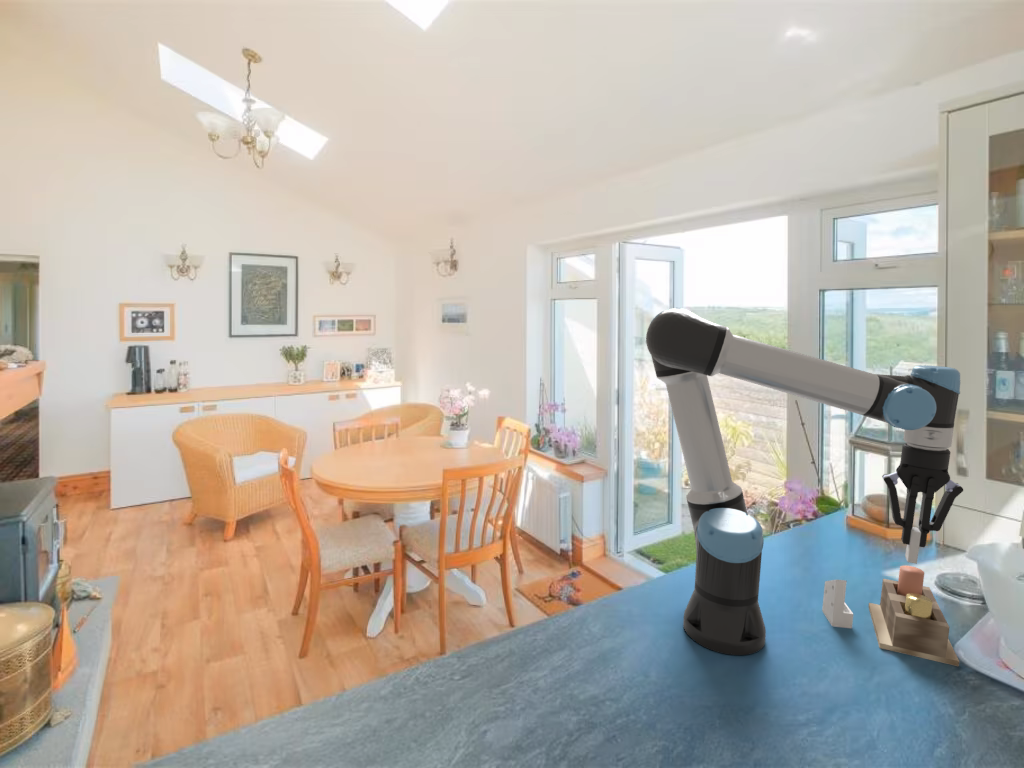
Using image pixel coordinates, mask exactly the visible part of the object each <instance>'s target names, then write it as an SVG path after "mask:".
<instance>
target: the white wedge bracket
mask: <svg viewBox="0 0 1024 768" xmlns="http://www.w3.org/2000/svg"><path fill="white" fill-rule="evenodd" d="M847 582H848V581H847V580H844V579H831V580H826V581H824V587H823V588H824V589H823V600H822V609H821V612H822V613H823V615H824V616H825V618H826V619H827V620H828V622H829V624H830V625H831V627H836V628H845V629H853V622H854V613H853V611H852V610H851V608H850V607H849V606H848V604H847V603H846V602H845V601H846V591H847V590H846V589H847Z"/></svg>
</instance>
